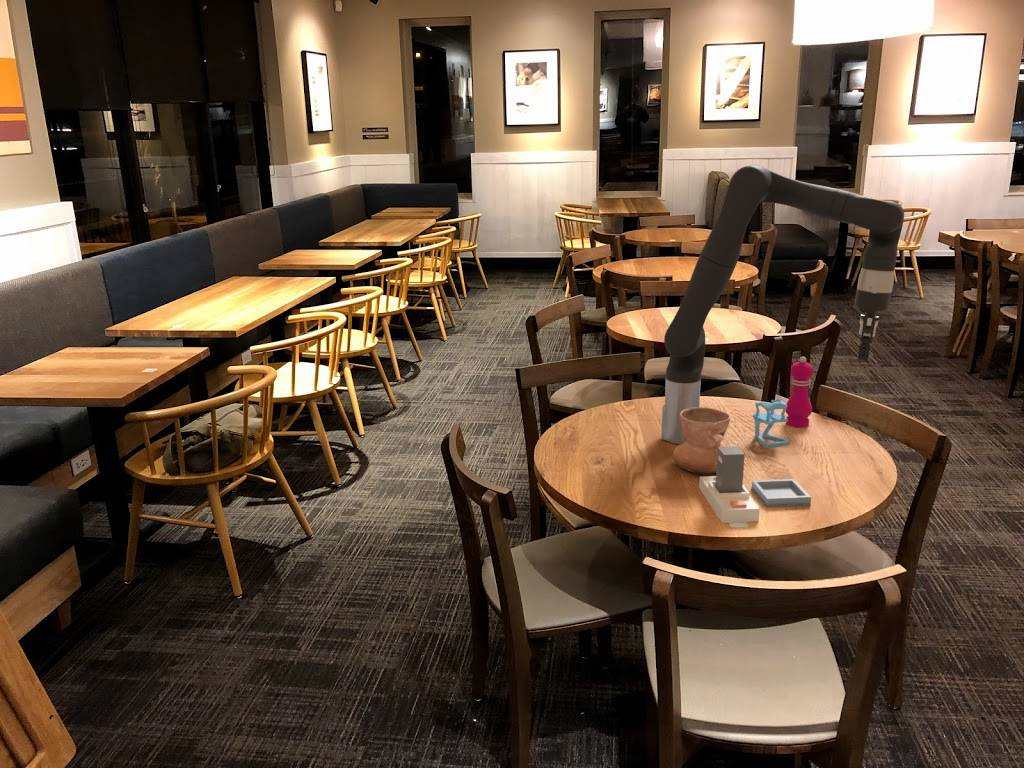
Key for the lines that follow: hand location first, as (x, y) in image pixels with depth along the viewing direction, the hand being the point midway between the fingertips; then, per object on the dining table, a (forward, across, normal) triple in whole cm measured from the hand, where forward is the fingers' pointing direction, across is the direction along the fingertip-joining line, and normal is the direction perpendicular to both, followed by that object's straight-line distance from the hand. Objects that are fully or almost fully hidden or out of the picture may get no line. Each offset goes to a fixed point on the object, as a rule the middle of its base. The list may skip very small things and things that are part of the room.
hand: (863, 355), depth 195 cm
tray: (+30, +23, -13) cm, 40 cm away
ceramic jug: (+31, +12, -33) cm, 47 cm away
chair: (+30, -13, -20) cm, 38 cm away
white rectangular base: (+31, +31, -23) cm, 50 cm away
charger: (+28, +31, -23) cm, 48 cm away
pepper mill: (+28, -29, -14) cm, 43 cm away
